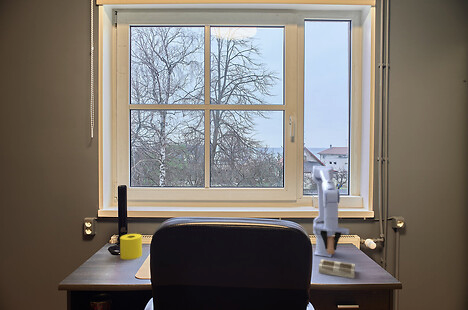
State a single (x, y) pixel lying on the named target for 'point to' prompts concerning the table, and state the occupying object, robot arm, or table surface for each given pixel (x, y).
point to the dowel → (330, 244)
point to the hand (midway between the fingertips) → (330, 248)
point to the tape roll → (130, 246)
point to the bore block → (337, 268)
